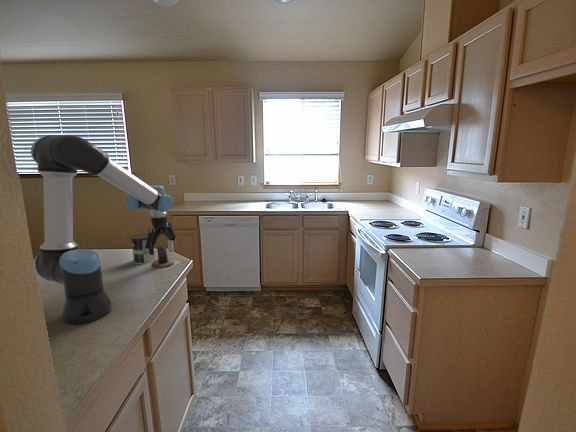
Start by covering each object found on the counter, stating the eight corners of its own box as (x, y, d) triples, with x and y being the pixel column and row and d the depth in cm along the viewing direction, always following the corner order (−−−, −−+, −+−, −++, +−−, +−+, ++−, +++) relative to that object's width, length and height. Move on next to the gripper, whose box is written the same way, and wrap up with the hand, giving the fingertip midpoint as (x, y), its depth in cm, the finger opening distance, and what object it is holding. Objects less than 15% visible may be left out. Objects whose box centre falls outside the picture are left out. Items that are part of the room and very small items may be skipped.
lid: (165, 269, 155) (163, 251, 153) (147, 267, 158) (145, 249, 156) (178, 261, 166) (177, 245, 164) (161, 259, 169) (160, 243, 167)
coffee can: (133, 265, 161) (130, 239, 158) (133, 259, 170) (131, 234, 167) (154, 262, 166) (152, 237, 163) (154, 256, 175) (151, 232, 172)
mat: (165, 271, 154) (165, 270, 154) (144, 268, 158) (144, 267, 158) (181, 262, 166) (181, 261, 166) (161, 259, 170) (161, 258, 170)
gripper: (147, 222, 144) (151, 265, 148) (180, 211, 167) (183, 249, 172) (134, 221, 146) (139, 263, 151) (168, 211, 169) (172, 248, 174)
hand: (162, 256), depth 161 cm, fingers open, 13 cm apart
